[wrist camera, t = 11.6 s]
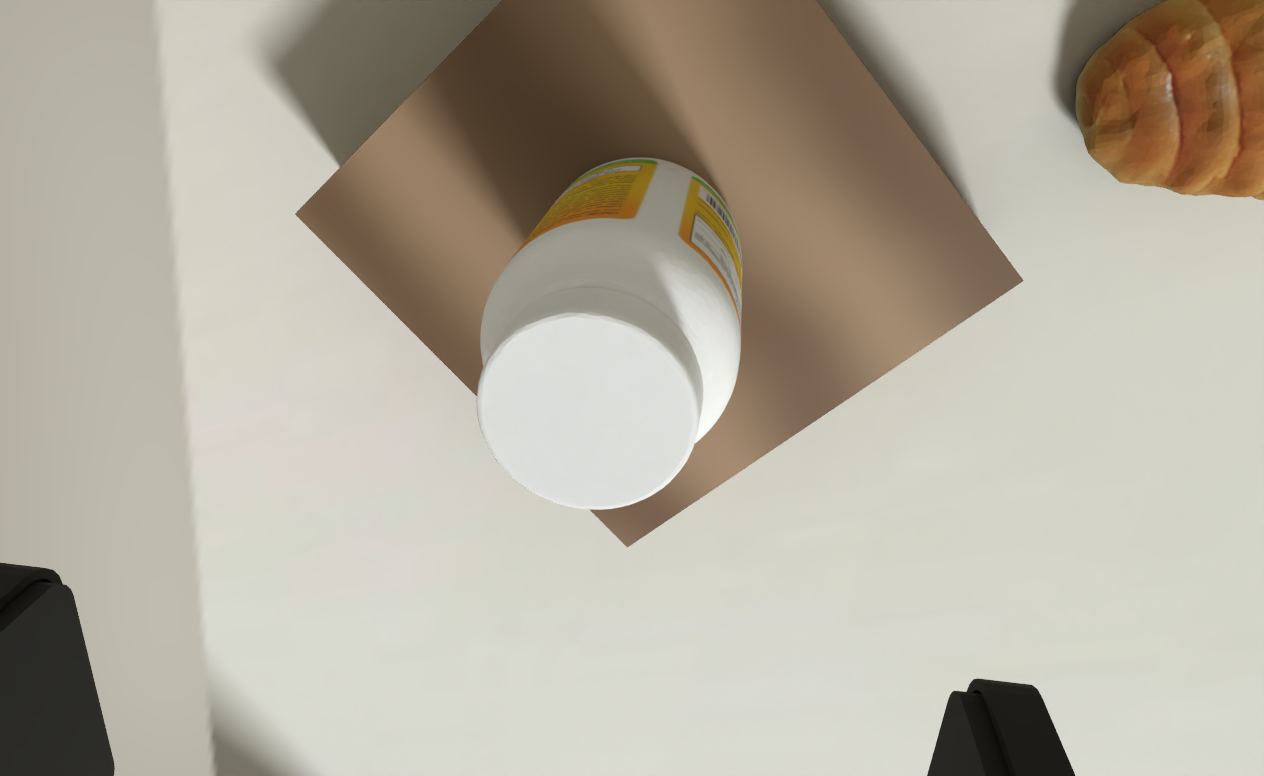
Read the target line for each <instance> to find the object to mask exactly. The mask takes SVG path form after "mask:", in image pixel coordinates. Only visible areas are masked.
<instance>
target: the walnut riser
mask: <svg viewBox="0 0 1264 776" xmlns="http://www.w3.org/2000/svg"><path fill="white" fill-rule="evenodd" d="M625 158H655V159H661V160H665V161H669V162H672V163H675V164H678V165H680V166H682V167H684V168H686V169H688V170H690V171H692V172H694V173H695V174H697V175H698V176H700V177H701V178H702V179H704V180H705V181H706V182H707V183H708V184H709V185H710V186H711V187H712V188H713V189H714V190H715V191H716V192H717V193H718V194H719V195H720V197H721V198H722V199H723V201H724V202H725V204H726V205H727V207H728V208H729V210H730V212H731V214H732V216H733V219H734V221H735V224H736V226H737V230H738V234H739V238H740V244H741V251H742V308H741V352H740V361H739V368H738V374H737V379H736V383H735V386H734V389H733V392H732V395H731V397H730V399H729V401H728V403H727V405H726V407H725V409H724V411H723V413H722V414H721V416H720V417H719V419H718V420H717V422H716V423H715V424H714V425H713V427H712V428H711V429H710V430H709V431H708V432H707V433H706V434H705V435H704V436H703V437H702V438H701V439H700V440H699V441H698V442H696V443H695V444H694V447H693V450H692V452H691V454H690V456H689V458H688V460H687V461H686V463H685V464H684V466H683V467H682V469H681V470H680V471H679V473H678V474H677V475H676V476H675V477H674V478H673V479H672V480H671V482H670V483H668V484H667V485H666V486H665V487H664V488H662V489H661V490H659V491H658V492H656V493H655V494H653V495H652V496H650V497H648V498H646V499H644V500H641V501H639V502H636V503H633V504H631V505H627V506H623V507H619V508H613V509H603V510H597V509H590V510H591V511H592V512H593V513H594V514H595V515H596V516H597V517H598V518H599V519H600V520H601V521H602V522H603V523H604V524H605V525H606V526H607V527H608V528H609V529H610V530H611V531H612V532H613V533H614V534H615V535H616V536H617V537H618V538H619V539H620V540H621V541H622V542H623V544H624V545H625V546H626V547H629V546H630V545H632V544H633V543H635V542H636V541H638V540H639V539H640V538H642V537H643V536H645V535H646V534H648V533H649V532H651V531H652V530H654V529H655V528H657V527H658V526H660V525H661V524H663V523H664V522H666V521H667V520H669V519H670V518H672V517H673V516H675V515H676V514H678V513H679V512H681V511H682V510H684V509H685V508H687V507H688V506H690V505H691V504H693V503H694V502H695V501H697V500H698V499H700V498H701V497H703V496H704V495H706V494H707V493H709V492H710V491H712V490H713V489H715V488H716V487H718V486H719V485H721V484H722V483H724V482H725V481H727V480H728V479H730V478H731V477H733V476H734V475H736V474H737V473H739V472H740V471H742V470H743V469H745V468H746V467H748V466H749V465H750V464H752V463H753V462H755V461H756V460H758V459H759V458H761V457H762V456H764V455H765V454H767V453H768V452H770V451H771V450H773V449H774V448H776V447H777V446H779V445H780V444H782V443H783V442H785V441H786V440H788V439H789V438H791V437H792V436H794V435H795V434H797V433H798V432H800V431H801V430H802V429H804V428H805V427H807V426H808V425H810V424H811V423H813V422H814V421H816V420H817V419H819V418H820V417H822V416H823V415H825V414H826V413H828V412H829V411H831V410H832V409H834V408H835V407H837V406H838V405H840V404H841V403H843V402H844V401H846V400H847V399H849V398H850V397H852V396H853V395H855V394H856V393H857V392H859V391H860V390H862V389H863V388H865V387H866V386H868V385H869V384H871V383H872V382H874V381H875V380H877V379H878V378H880V377H881V376H883V375H884V374H886V373H887V372H889V371H890V370H892V369H893V368H895V367H896V366H898V365H899V364H901V363H902V362H904V361H905V360H907V359H908V358H910V357H911V356H912V355H914V354H915V353H917V352H918V351H920V350H921V349H923V348H924V347H926V346H927V345H929V344H930V343H932V342H933V341H935V340H936V339H938V338H939V337H941V336H942V335H944V334H945V333H947V332H948V331H950V330H951V329H953V328H954V327H956V326H957V325H959V324H960V323H962V322H963V321H965V320H966V319H967V318H969V317H970V316H972V315H973V314H975V313H976V312H978V311H979V310H981V309H982V308H984V307H985V306H987V305H988V304H990V303H991V302H993V301H994V300H996V299H997V298H999V297H1000V296H1002V295H1003V294H1005V293H1006V292H1008V291H1009V290H1011V289H1012V288H1014V287H1015V286H1017V285H1018V284H1019V283H1021V282H1022V281H1023V279H1022V278H1021V277H1020V275H1019V274H1018V273H1017V271H1016V270H1015V268H1014V267H1013V266H1012V264H1011V263H1010V262H1009V260H1008V259H1007V258H1006V256H1005V255H1004V254H1003V252H1002V251H1001V250H1000V248H999V247H998V245H997V244H996V243H995V241H994V240H993V239H992V237H991V236H990V235H989V233H988V232H987V231H986V229H985V228H984V227H983V225H982V224H981V223H980V221H979V220H978V218H977V217H976V216H975V214H974V213H973V212H972V210H971V209H970V208H969V206H968V205H967V204H966V202H965V201H964V200H963V198H962V197H961V195H960V194H959V193H958V191H957V190H956V189H955V187H954V186H953V185H952V183H951V182H950V181H949V179H948V178H947V177H946V175H945V174H944V173H943V171H942V170H941V168H940V167H939V166H938V164H937V163H936V162H935V160H934V159H933V158H932V156H931V155H930V154H929V152H928V151H927V150H926V148H925V147H924V145H923V144H922V143H921V141H920V140H919V139H918V137H917V136H916V135H915V133H914V132H913V131H912V129H911V128H910V127H909V125H908V124H907V123H906V121H905V120H904V118H903V117H902V116H901V114H900V113H899V112H898V110H897V109H896V108H895V106H894V105H893V104H892V102H891V101H890V100H889V98H888V97H887V95H886V94H885V93H884V91H883V90H882V89H881V87H880V86H879V85H878V83H877V82H876V81H875V79H874V78H873V77H872V75H871V74H870V73H869V71H868V70H867V68H866V67H865V66H864V64H863V63H862V62H861V60H860V59H859V58H858V56H857V55H856V54H855V52H854V51H853V50H852V48H851V47H850V45H849V44H848V43H847V41H846V40H845V39H844V37H843V36H842V35H841V33H840V32H839V31H838V29H837V28H836V27H835V25H834V24H833V23H832V21H831V20H830V18H829V17H828V16H827V14H826V13H825V12H824V10H823V9H822V8H821V6H820V5H819V4H818V2H817V1H816V0H502V1H501V2H500V3H499V4H498V5H497V6H496V7H495V8H494V10H493V11H492V12H491V13H490V14H489V15H488V16H487V17H486V18H485V19H484V20H483V21H482V22H481V23H480V24H479V25H478V26H477V27H476V28H475V29H474V30H473V31H472V32H471V33H470V34H469V35H468V36H467V37H466V38H465V39H464V40H463V41H462V42H461V44H460V45H459V46H458V47H457V48H456V49H455V50H454V51H453V52H452V53H451V54H450V55H449V56H448V57H447V58H446V59H445V60H444V61H443V62H442V63H441V64H440V65H439V66H438V67H437V68H436V69H435V70H434V71H433V72H432V73H431V74H430V75H429V77H428V78H427V79H426V80H425V81H424V82H423V83H422V84H421V85H420V86H419V87H418V88H417V89H416V90H415V91H414V92H413V93H412V94H411V95H410V96H409V97H408V98H407V99H406V100H405V101H404V102H403V103H402V104H401V105H400V106H399V107H398V108H397V109H396V111H395V112H394V113H393V114H392V115H391V116H390V117H389V118H388V119H387V120H386V121H385V122H384V123H383V124H382V125H381V126H380V127H379V128H378V129H377V130H376V131H375V132H374V133H373V134H372V135H371V136H370V137H369V138H368V139H367V140H366V141H365V142H364V143H363V145H362V146H361V147H360V148H359V149H358V150H357V151H356V152H355V153H354V154H353V155H352V156H351V157H350V158H349V159H348V160H347V161H346V162H345V163H344V164H343V165H342V166H341V167H340V168H339V169H338V170H337V171H336V172H335V173H334V174H333V175H332V176H331V177H330V179H329V180H328V181H327V182H326V183H325V184H324V185H323V186H322V187H321V188H320V189H319V190H318V191H317V192H316V193H315V194H314V195H313V196H312V197H311V198H310V199H309V200H308V201H307V202H306V203H305V204H304V205H303V206H302V207H301V208H300V209H299V210H298V211H297V213H296V214H295V215H296V216H297V217H298V218H299V219H300V220H301V221H302V222H303V223H304V224H305V225H306V226H307V227H308V228H309V229H310V230H311V231H312V232H313V233H314V234H315V235H316V236H317V237H318V238H319V239H320V240H321V241H322V242H323V243H324V244H325V245H326V246H327V247H328V248H329V249H330V250H331V251H332V252H333V253H334V254H335V255H336V256H337V257H338V258H339V259H340V260H341V261H342V262H343V263H344V264H345V265H346V266H347V267H348V268H349V269H350V270H351V271H352V272H353V273H354V274H355V275H356V276H357V277H358V278H359V279H360V280H361V281H362V282H363V283H364V284H365V285H366V286H367V287H368V288H369V289H370V290H371V291H372V292H373V293H374V294H375V295H376V296H377V297H378V298H379V299H380V300H381V301H382V302H383V303H384V304H385V305H386V306H387V307H388V308H389V309H390V310H391V311H392V312H393V313H394V314H395V315H396V316H397V317H398V318H399V319H400V320H401V321H402V322H403V323H404V324H405V325H406V326H407V327H408V328H409V329H410V330H411V331H412V332H413V333H414V334H415V335H416V336H417V337H418V338H419V339H420V340H421V341H422V342H423V343H424V344H425V345H426V346H427V347H428V348H429V349H430V350H431V351H432V352H433V353H434V354H435V355H436V356H437V357H438V358H439V359H440V360H441V361H442V362H443V363H444V364H445V365H446V366H447V367H448V368H449V369H450V370H451V371H452V372H453V373H454V374H455V375H456V376H457V377H458V378H459V379H460V380H461V381H462V382H463V383H464V384H465V385H466V386H467V387H468V388H469V389H470V390H471V391H472V392H473V393H474V394H475V395H476V396H477V391H478V383H479V379H480V375H481V372H482V369H483V362H482V355H481V348H480V334H481V324H482V318H483V313H484V308H485V306H486V303H487V300H488V297H489V295H490V293H491V290H492V288H493V286H494V284H495V283H496V281H497V279H498V277H499V276H500V274H501V273H502V271H503V270H504V268H505V266H506V265H507V264H508V262H509V261H510V260H511V258H512V257H513V256H514V255H515V253H516V252H517V251H518V249H519V248H520V247H521V246H522V244H523V243H524V242H525V240H526V239H527V238H528V237H529V235H530V234H531V233H532V232H533V230H534V229H535V228H536V226H537V225H538V224H539V223H540V221H541V220H542V219H543V217H544V216H545V215H546V214H547V212H548V211H549V210H550V208H551V207H552V206H553V204H554V203H555V202H556V201H557V199H558V198H559V197H560V196H561V194H562V193H563V192H564V191H565V190H566V189H567V188H568V187H569V186H570V185H571V184H572V183H573V182H574V181H576V180H577V179H578V178H579V177H581V176H582V175H583V174H585V173H586V172H588V171H590V170H591V169H593V168H595V167H597V166H600V165H602V164H605V163H608V162H611V161H615V160H619V159H625Z"/></svg>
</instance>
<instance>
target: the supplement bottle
mask: <svg viewBox="0 0 1264 776" xmlns="http://www.w3.org/2000/svg"><path fill="white" fill-rule="evenodd" d="M741 308H742V251H741V244H740V238H739V234H738V230H737V226H736V224H735V221H734V219H733V216H732V214H731V212H730V210H729V208H728V207H727V205H726V204H725V202H724V201H723V199H722V198H721V197H720V195H719V194H718V193H717V192H716V191H715V190H714V189H713V188H712V187H711V186H710V185H709V184H708V183H707V182H706V181H705V180H704V179H702V178H701V177H700V176H698V175H697V174H695V173H694V172H692V171H690V170H688V169H686V168H684V167H682V166H680V165H678V164H675V163H672V162H669V161H665V160H661V159H655V158H625V159H619V160H615V161H611V162H608V163H605V164H602V165H600V166H597V167H595V168H593V169H591V170H590V171H588V172H586V173H585V174H583V175H582V176H581V177H579V178H578V179H577V180H576V181H574V182H573V183H572V184H571V185H570V186H569V187H568V188H567V189H566V190H565V191H564V192H563V193H562V194H561V196H560V197H559V198H558V199H557V201H556V202H555V203H554V204H553V206H552V207H551V208H550V210H549V211H548V212H547V214H546V215H545V216H544V217H543V219H542V220H541V221H540V223H539V224H538V225H537V226H536V228H535V229H534V230H533V232H532V233H531V234H530V235H529V237H528V238H527V239H526V240H525V242H524V243H523V244H522V246H521V247H520V248H519V249H518V251H517V252H516V253H515V255H514V256H513V257H512V258H511V260H510V261H509V262H508V264H507V265H506V266H505V268H504V270H503V271H502V273H501V274H500V276H499V277H498V279H497V281H496V283H495V284H494V286H493V288H492V290H491V293H490V295H489V297H488V300H487V303H486V306H485V308H484V313H483V318H482V324H481V334H480V348H481V355H482V362H483V369H482V372H481V375H480V379H479V383H478V391H477V414H478V420H479V424H480V428H481V431H482V434H483V437H484V439H485V441H486V443H487V445H488V447H489V449H490V451H491V452H492V454H493V456H494V457H495V459H496V460H497V461H498V463H499V464H500V465H501V466H502V468H503V469H504V470H505V471H506V472H507V473H508V474H509V475H510V476H511V477H512V478H513V479H515V480H516V481H517V482H518V483H520V484H521V485H522V486H524V487H525V488H527V489H528V490H529V491H531V492H533V493H534V494H536V495H538V496H541V497H543V498H545V499H547V500H549V501H551V502H555V503H558V504H561V505H565V506H568V507H574V508H579V509H597V510H603V509H613V508H619V507H623V506H627V505H631V504H633V503H636V502H639V501H641V500H644V499H646V498H648V497H650V496H652V495H653V494H655V493H656V492H658V491H659V490H661V489H662V488H664V487H665V486H666V485H667V484H668V483H670V482H671V480H672V479H673V478H674V477H675V476H676V475H677V474H678V473H679V471H680V470H681V469H682V467H683V466H684V464H685V463H686V461H687V460H688V458H689V456H690V454H691V452H692V450H693V447H694V444H695V443H696V442H698V441H699V440H700V439H701V438H702V437H703V436H704V435H705V434H706V433H707V432H708V431H709V430H710V429H711V428H712V427H713V425H714V424H715V423H716V422H717V420H718V419H719V417H720V416H721V414H722V413H723V411H724V409H725V407H726V405H727V403H728V401H729V399H730V397H731V395H732V392H733V389H734V386H735V383H736V379H737V374H738V368H739V361H740V352H741Z"/></svg>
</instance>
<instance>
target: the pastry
mask: <svg viewBox="0 0 1264 776" xmlns="http://www.w3.org/2000/svg"><path fill="white" fill-rule="evenodd" d="M1075 107H1076V117H1077V122H1078V125H1079V127H1080V129H1081V132H1082V134H1083V137H1084V141H1085V145H1086V148H1087V150H1088V153H1089V154H1090V155H1091V157H1092V158H1093V159H1094V160H1095V161H1096V162H1098V163H1099V164H1100V165H1101V166H1102V167H1104V168H1105V169H1106V170H1107V171H1108V172H1110V173H1111V174H1112V175H1113V176H1114V177H1115V178H1116V179H1117V180H1118V181H1120V182H1122V183H1126V184H1139V185H1144V186H1158V187H1163V188H1167V189H1169V190H1172V191H1174V192H1177V193H1180V194H1184V195H1187V194H1188V195H1194V196H1198V195H1211V194H1215V195H1222V196H1228V197H1249V196H1252V197H1254V198H1256V199H1260V200H1264V0H1166V1H1164V2H1162V3H1160V4H1158V5H1156V6H1154V7H1153V8H1151V9H1149V10H1147V11H1145V12H1143V13H1142V14H1140V15H1138V16H1137V17H1135V18H1133V19H1132V20H1130V21H1129V22H1128V23H1127V24H1125V25H1124V26H1123V27H1122V28H1121V29H1120V30H1119V31H1118V32H1117V33H1116V34H1115V35H1114V36H1112V37H1111V38H1110V39H1109V40H1108V41H1107V42H1106V43H1104V44H1103V45H1102V46H1101V47H1100V48H1099V49H1097V50H1096V51H1095V53H1094V54H1093V55H1092V56H1091V57H1090V59H1089V60H1088V62H1087V63H1086V65H1085V67H1084V68H1083V70H1082V72H1081V74H1080V75H1079V77H1078V81H1077V85H1076V104H1075Z"/></svg>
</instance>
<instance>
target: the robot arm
mask: <svg viewBox="0 0 1264 776" xmlns="http://www.w3.org/2000/svg"><path fill="white" fill-rule="evenodd" d="M0 776H114V761H113V757H112V752H111V748H110V744H109V740H108V736H107V732H106V728H105V724H104V719H103V715H102V711H101V707H100V703H99V699H98V695H97V690H96V687H95V682H94V678H93V674H92V670H91V666H90V662H89V658H88V653H87V649H86V645H85V641H84V637H83V633H82V628H81V624H80V620H79V616H78V612H77V608H76V604H75V600H74V596H73V593H72V591H71V589H70V588H69V587H68V586H67V585H63V584H62V581H61V579H60V577H59V575H58V574H57V573H56V572H55V571H54V570H50V569H47V568H40V567H31V566H22V565H14V564H6V563H0ZM927 776H1075V774H1074V771H1073V769H1072V767H1071V764H1070V762H1069V760H1068V757H1067V755H1066V753H1065V750H1064V748H1063V746H1062V743H1061V741H1060V739H1059V736H1058V734H1057V732H1056V729H1055V727H1054V725H1053V722H1052V720H1051V718H1050V715H1049V713H1048V711H1047V708H1046V706H1045V704H1044V701H1043V699H1042V697H1041V695H1040V693H1039V691H1038V690H1037V689H1036V688H1035V687H1034V686H1032V685H1027V684H1019V683H1010V682H1002V681H993V680H985V679H974V680H973V681H972V682H971V683H970V685H969V687H968V690H967V692H960V691H953V692H952V693H951V695H950V697H949V700H948V703H947V706H946V710H945V714H944V717H943V721H942V724H941V728H940V732H939V735H938V739H937V742H936V746H935V750H934V753H933V757H932V760H931V764H930V768H929V771H928V775H927Z"/></svg>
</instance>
